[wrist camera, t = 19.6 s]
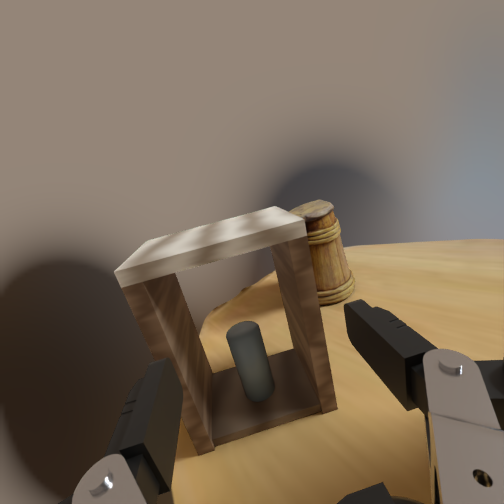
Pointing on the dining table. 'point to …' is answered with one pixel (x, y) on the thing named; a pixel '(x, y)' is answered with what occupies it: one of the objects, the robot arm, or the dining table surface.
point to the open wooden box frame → (188, 342)
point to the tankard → (326, 252)
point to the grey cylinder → (251, 360)
